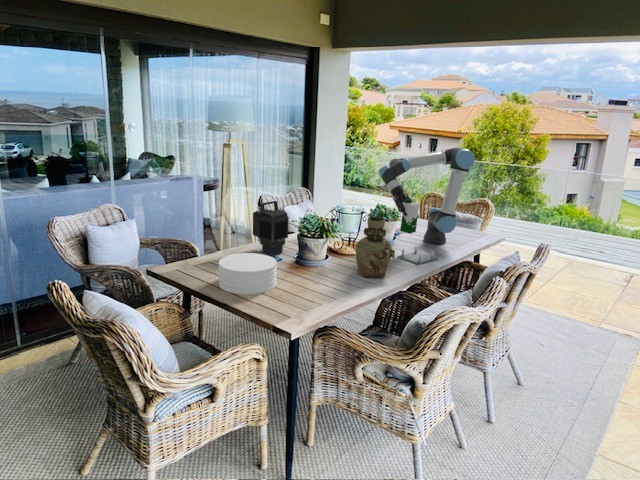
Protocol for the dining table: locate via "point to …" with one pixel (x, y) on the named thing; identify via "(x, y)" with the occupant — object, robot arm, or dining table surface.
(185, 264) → the dining table surface
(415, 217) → the soya milk
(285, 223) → the lantern
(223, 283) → the plate stack
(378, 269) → the ceramic vessel
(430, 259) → the peg dock
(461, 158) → the robot arm
